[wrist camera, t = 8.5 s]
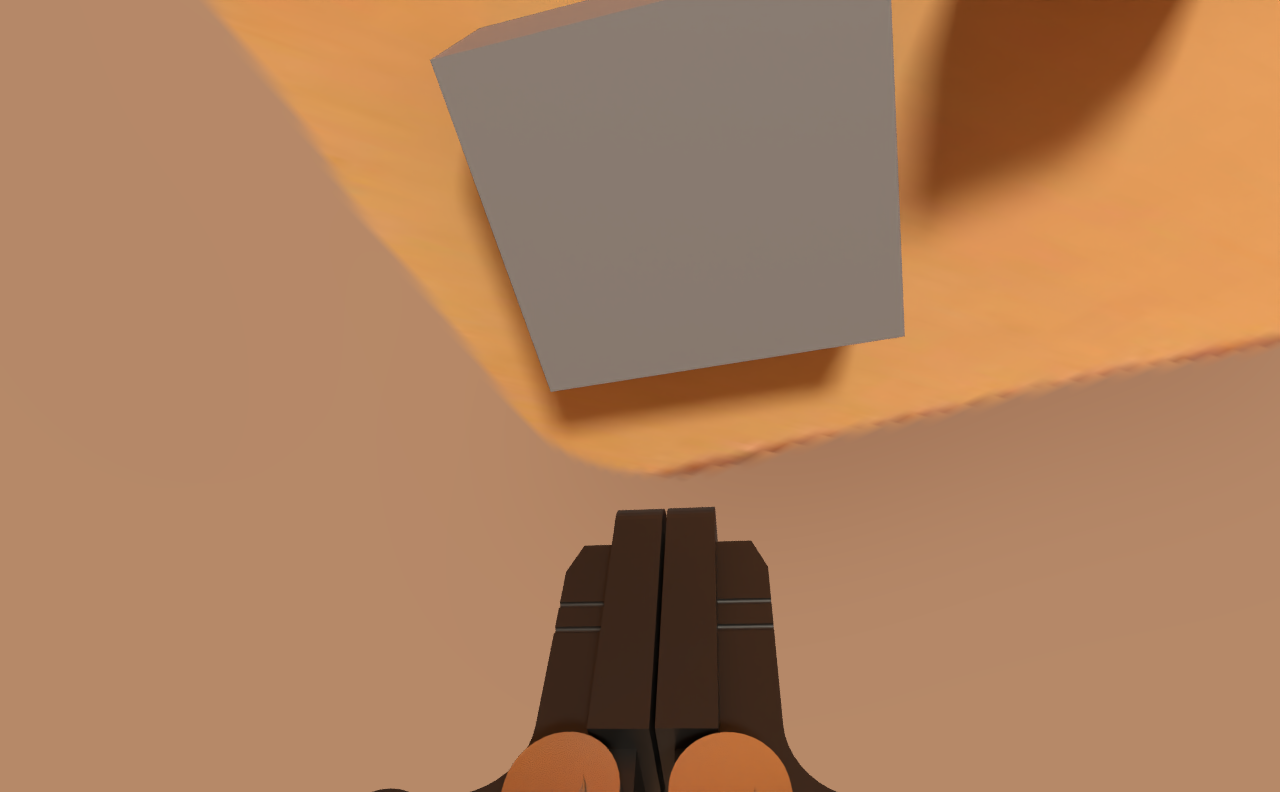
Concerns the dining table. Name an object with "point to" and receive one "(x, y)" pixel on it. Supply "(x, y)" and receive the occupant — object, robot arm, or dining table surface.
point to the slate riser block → (687, 178)
